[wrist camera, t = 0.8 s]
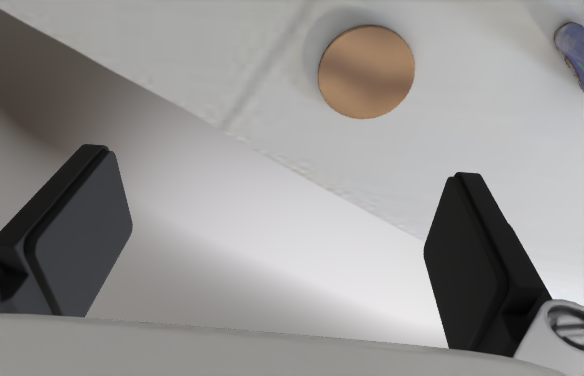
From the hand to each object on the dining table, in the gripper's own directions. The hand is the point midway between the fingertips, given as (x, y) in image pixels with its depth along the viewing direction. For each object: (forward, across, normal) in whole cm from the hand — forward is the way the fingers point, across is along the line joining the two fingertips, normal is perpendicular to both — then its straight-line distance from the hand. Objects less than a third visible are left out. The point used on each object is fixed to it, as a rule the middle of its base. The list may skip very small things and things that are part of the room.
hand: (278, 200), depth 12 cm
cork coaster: (+33, -7, +8) cm, 34 cm away
